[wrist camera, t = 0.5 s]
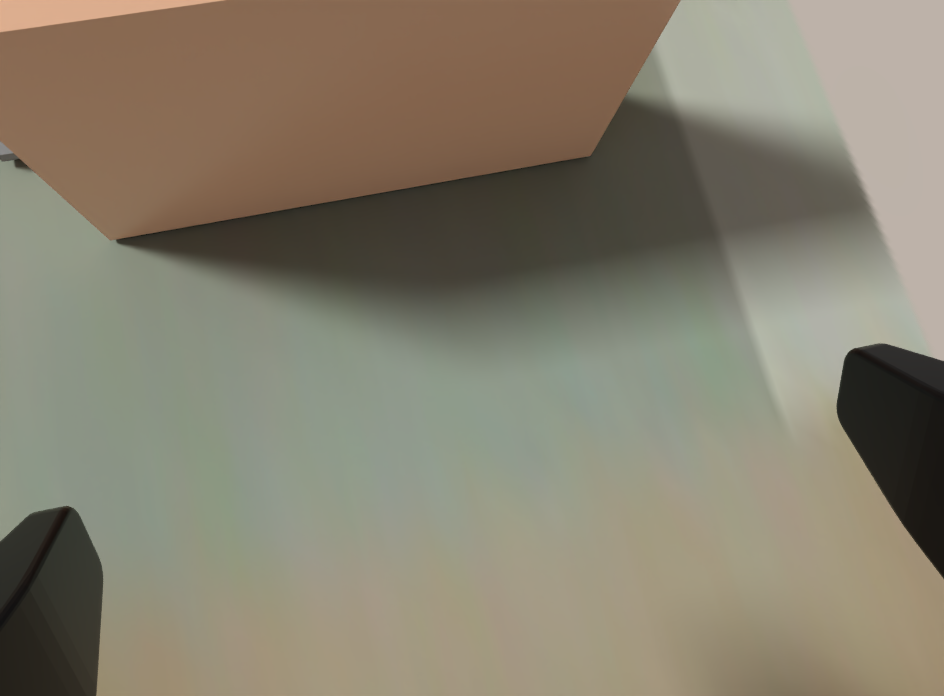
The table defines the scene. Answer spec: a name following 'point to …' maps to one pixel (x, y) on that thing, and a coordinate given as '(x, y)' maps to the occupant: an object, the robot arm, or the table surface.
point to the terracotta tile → (303, 97)
